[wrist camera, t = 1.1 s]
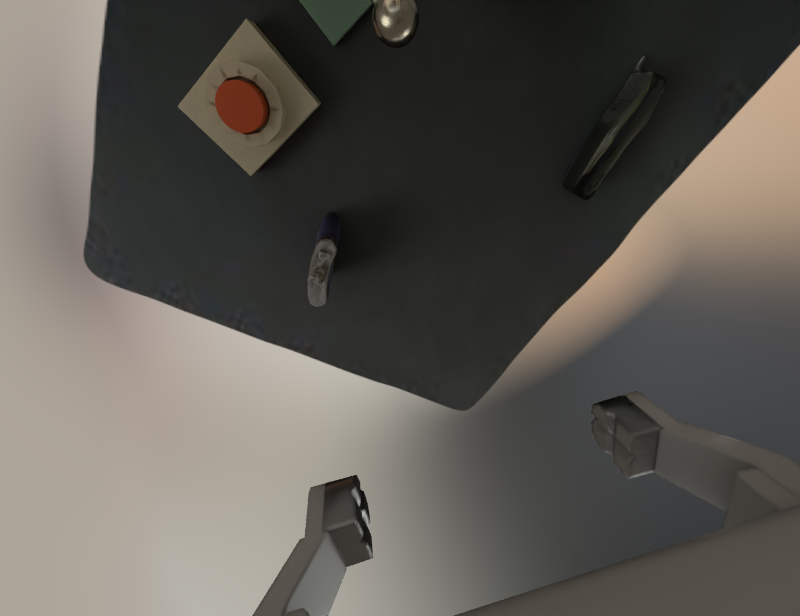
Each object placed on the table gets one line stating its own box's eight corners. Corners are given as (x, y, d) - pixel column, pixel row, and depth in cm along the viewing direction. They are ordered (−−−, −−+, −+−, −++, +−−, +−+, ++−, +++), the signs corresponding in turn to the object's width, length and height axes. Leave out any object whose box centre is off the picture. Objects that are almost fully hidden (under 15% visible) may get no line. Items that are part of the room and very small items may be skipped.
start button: (240, 68, 33) (234, 67, 32) (277, 109, 35) (273, 110, 34) (211, 103, 35) (204, 104, 33) (249, 140, 37) (244, 143, 35)
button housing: (254, 22, 35) (240, 15, 31) (321, 103, 39) (316, 105, 35) (188, 105, 38) (168, 107, 34) (257, 171, 42) (246, 180, 38)
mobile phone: (593, 204, 43) (689, 64, 35) (573, 195, 42) (667, 50, 34) (573, 192, 47) (656, 64, 39) (555, 184, 46) (635, 52, 38)
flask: (332, 276, 50) (324, 317, 41) (311, 271, 50) (298, 313, 41) (344, 214, 46) (337, 246, 37) (321, 208, 45) (309, 239, 36)
